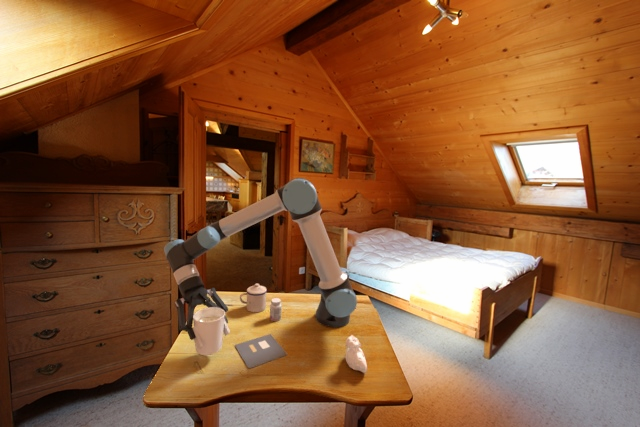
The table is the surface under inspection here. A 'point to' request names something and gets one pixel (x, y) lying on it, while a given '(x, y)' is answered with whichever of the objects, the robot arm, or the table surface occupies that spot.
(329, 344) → the table surface
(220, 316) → the candle holder
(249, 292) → the teacup with lid
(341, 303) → the robot arm
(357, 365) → the bust
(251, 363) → the gray tile
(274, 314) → the pill bottle
